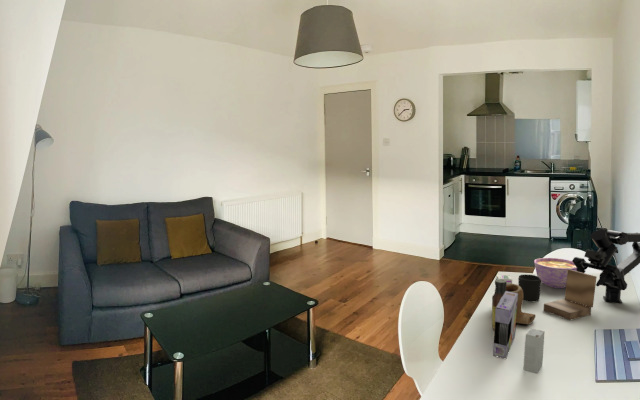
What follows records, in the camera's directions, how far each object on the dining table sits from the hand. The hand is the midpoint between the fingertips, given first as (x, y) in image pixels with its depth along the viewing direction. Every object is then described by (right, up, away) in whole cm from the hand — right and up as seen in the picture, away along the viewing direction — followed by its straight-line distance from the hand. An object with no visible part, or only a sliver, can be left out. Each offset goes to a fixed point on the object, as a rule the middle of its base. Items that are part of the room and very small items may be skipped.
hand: (586, 282), depth 191 cm
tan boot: (-36, -14, -12) cm, 41 cm away
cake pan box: (-49, -17, -34) cm, 62 cm away
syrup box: (-35, -12, +1) cm, 37 cm away
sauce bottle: (-45, -15, -21) cm, 52 cm away
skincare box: (-46, -18, -49) cm, 70 cm away
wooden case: (-10, -12, -3) cm, 16 cm away
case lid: (-4, -2, -2) cm, 5 cm away
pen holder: (-18, -10, +14) cm, 25 cm away
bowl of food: (+3, -7, +31) cm, 32 cm away
